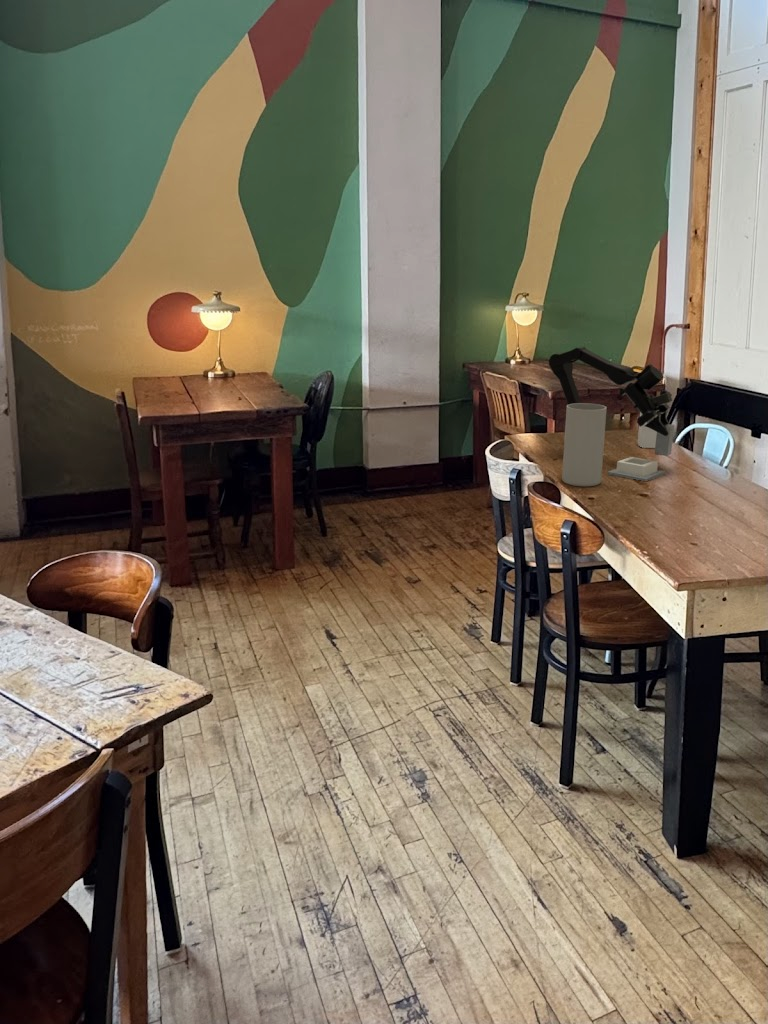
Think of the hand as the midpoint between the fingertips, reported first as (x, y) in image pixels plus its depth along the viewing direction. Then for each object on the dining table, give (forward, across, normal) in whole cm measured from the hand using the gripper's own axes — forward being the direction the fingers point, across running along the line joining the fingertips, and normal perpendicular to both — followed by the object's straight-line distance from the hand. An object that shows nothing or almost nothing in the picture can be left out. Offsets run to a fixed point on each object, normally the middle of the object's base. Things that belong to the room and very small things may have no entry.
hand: (669, 434), depth 299 cm
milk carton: (-2, +37, +22) cm, 43 cm away
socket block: (+4, -8, +14) cm, 17 cm away
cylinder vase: (-4, -29, +23) cm, 37 cm away
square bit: (+4, 0, +6) cm, 7 cm away
